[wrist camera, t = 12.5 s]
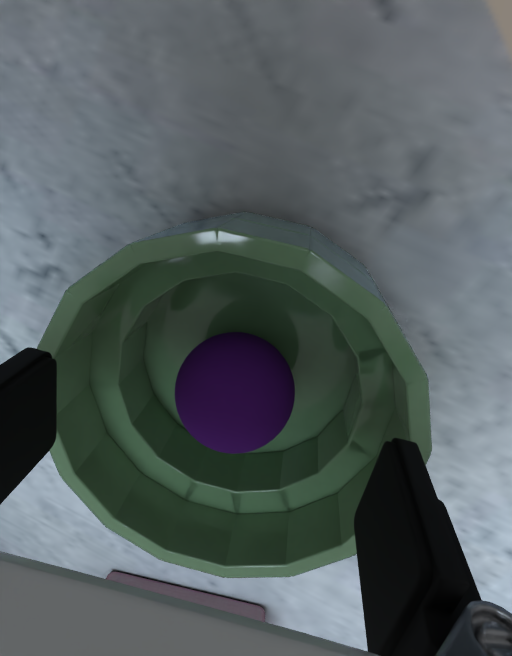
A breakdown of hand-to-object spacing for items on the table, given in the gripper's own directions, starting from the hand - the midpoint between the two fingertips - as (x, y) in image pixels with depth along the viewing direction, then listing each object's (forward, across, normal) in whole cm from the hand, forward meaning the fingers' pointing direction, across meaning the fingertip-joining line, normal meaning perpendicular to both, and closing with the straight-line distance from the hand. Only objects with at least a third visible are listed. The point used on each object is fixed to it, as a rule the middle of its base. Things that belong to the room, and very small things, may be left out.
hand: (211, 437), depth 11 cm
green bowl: (+7, 0, +1) cm, 7 cm away
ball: (+4, 0, +1) cm, 4 cm away
